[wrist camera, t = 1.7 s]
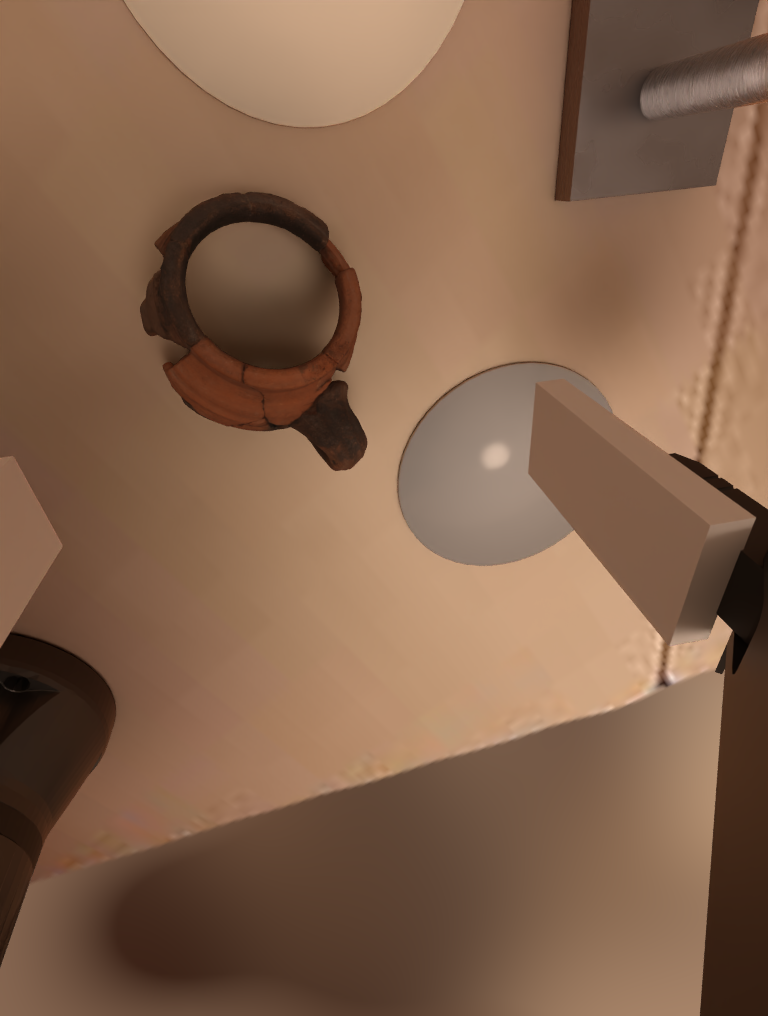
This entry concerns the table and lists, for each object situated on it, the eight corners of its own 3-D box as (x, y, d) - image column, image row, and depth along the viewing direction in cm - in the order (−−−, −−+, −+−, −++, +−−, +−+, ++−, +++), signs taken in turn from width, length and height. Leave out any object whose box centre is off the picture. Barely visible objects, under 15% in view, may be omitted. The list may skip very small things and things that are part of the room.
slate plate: (404, 578, 35) (405, 581, 34) (389, 380, 27) (390, 382, 27) (597, 544, 36) (599, 546, 36) (634, 346, 28) (637, 347, 28)
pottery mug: (108, 338, 24) (66, 269, 16) (252, 220, 26) (274, 108, 18) (288, 513, 27) (323, 525, 20) (403, 397, 29) (476, 366, 22)
